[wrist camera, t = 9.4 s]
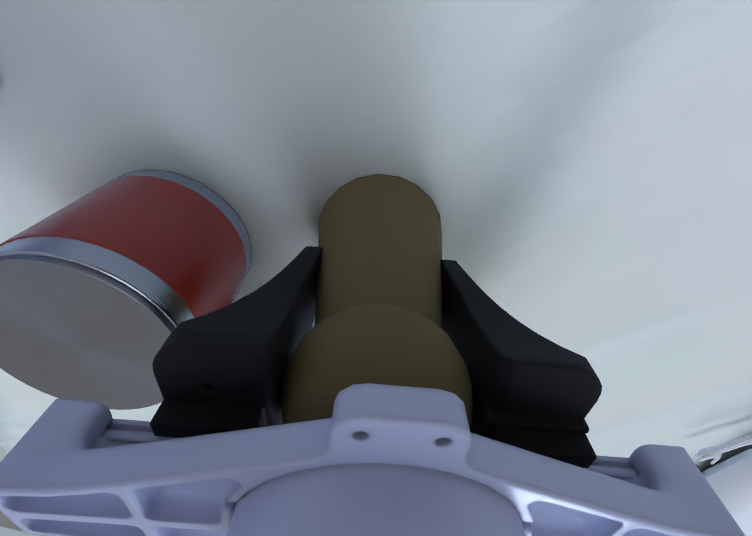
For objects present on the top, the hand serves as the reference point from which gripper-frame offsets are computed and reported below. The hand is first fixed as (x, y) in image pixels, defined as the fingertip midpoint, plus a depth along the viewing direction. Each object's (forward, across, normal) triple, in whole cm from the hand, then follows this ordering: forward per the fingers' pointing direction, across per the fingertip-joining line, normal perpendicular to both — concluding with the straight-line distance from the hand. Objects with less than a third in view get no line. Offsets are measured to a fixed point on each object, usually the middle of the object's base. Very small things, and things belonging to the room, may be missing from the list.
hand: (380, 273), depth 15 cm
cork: (+4, 0, 0) cm, 4 cm away
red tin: (+3, +10, +2) cm, 11 cm away
